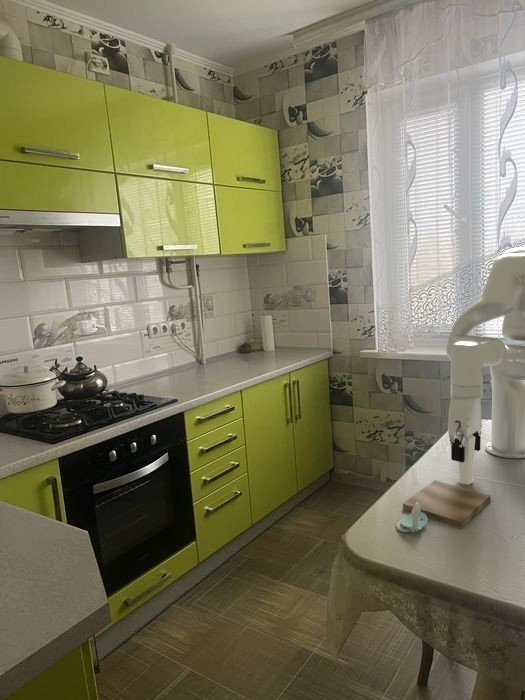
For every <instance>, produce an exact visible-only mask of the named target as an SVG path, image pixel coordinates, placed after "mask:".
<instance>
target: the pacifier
mask: <svg viewBox="0 0 525 700" xmlns="http://www.w3.org/2000/svg"><path fill="white" fill-rule="evenodd" d="M420 511H421V506H420V504H419V503H418V502H416V503H415V505H414V507H413V509H412V512H410V513H409V514H407V515H406V516H405V517H404V518H401V519H400V520H398V521H397V523H396V525H395V526H396V529H397V531H399V532H401V533H402V532H403V533H409V532H410V531H411V532H410V533H416V532H415V531H417V532H418V531H422V530H423V527H425V526H426V525H427V523H428V519H429V518H428V517H427V516H426V514H424V513H423V512H420ZM402 526H403V527H402Z"/></svg>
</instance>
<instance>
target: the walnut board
mask: <svg viewBox="0 0 525 700" xmlns="http://www.w3.org/2000/svg"><path fill="white" fill-rule="evenodd" d="M491 497H492V496H491V495H490V494H487V493H483V492H480V491H477V490H472V489H469V488H466V487H461V486H458V485H454V484H450V483H446V482H443V481H440V480H435V479H434V480H433V481H431V483H429V484H428V485H426V486H425V487H424V488H422V489H420V490H419V491H418V492H416V493H415V494H414V495H412V496H411V497H409V498H408V499H407V500H405V501H404V502H403V503H402V510H404V511H406V512H410V513H412V509H413V507H414V505H415V503H416V502H418V503H419V504H420V506H421V511H420V512H423V513H424V514H426V516H427V518H428V519H432V520H434V521H437V522H440V523H442V524H446V525H450V526H451V527H455V528H459V529H462V528H463V527H464V526H465V525H466V524H467V523H469V522H470V521H471V520H472V519H473V518H474V517H475V516H476V515H477V514H479V512H480V511H482V510H483V509H484V508H485V507H486V506H487V505H488V504H489V503H491Z"/></svg>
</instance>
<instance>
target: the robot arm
mask: <svg viewBox="0 0 525 700" xmlns="http://www.w3.org/2000/svg"><path fill="white" fill-rule="evenodd" d="M501 317H503V321H502V329H501V334H502V336H503V338H504V339H505V340H507V341H510V342H513V343H514V342H515V343H522V344H523V343H525V246H520V247H514V248H510V249H507V250H505V251H504V252H503V253H502V255H499V256H498V257H496V259H495V260H494V261H493V264H492V266H491V268H490V272H489V274H488V277H487V280H486V283H485V286H484V288H483V292H482V293H481V297H480V299H479V300H478V301H477V302H476V303H473V305H471V306H470V307H468V308H467V309H466V310H465V311H464V312H462V314H460V315H459V317H458V318H456V320H455V322H454V323H453V325H452V328H451V331H450V333H449V336H448V341H447V343H446V349H445V350H446V355H447V358H448V359H449V360H450V400H449V401H450V402H449V408H448V419H447V420H448V423H447V433H448V437H449V443H450V447H451V449H450V450H451V451H450V452H451V454H450V455H451V456H450V457H451V461H456V462H458V463H459V462H464V461H465V447H463V444H464V441H465V438H467V437H469V436H470V435H473V436H475V448H474V451H477V452H480V451H481V435H482V431H481V429H482V427H483V426H482V421H483V416H482V415H483V413H482V412H483V409H482V398H483V395H484V394H483V393H484V388H483V387H484V382H483V381H484V368H489V371H490V378H491V441H487V443H486V444H485V450H486V452H488V453H489V454H492V455H494V456H496V457H500V458H505V459H525V384H524V382H523V381H525V345H522V344H521V345H517V344H505V343H504V342H503V341H502V340H501V339H499V338H496V337H491V336H479V335H478V336H477V335H470V333H471V332H472V331H473V330H475V328H477V327H479V326H480V325H482V324H484V323H488V322H490V321H493V320H496V319H498V318H501ZM459 433H463V435H462V434H459ZM457 437H459V438H461V440H460V441H459V440H458V439H457Z"/></svg>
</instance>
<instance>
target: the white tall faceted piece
mask: <svg viewBox="0 0 525 700" xmlns="http://www.w3.org/2000/svg"><path fill="white" fill-rule="evenodd" d="M458 434H462V435H463V433H458ZM456 438H457V439H458V440H459V441H460V440H461V438H459V437H456ZM463 447H465V461H464V462H458V474H459V475H458V478H457V482H458V484H463V485H467V486H468V485H471V484H473V483H474V478H473V469H474V467H473V466H474V460H475V459H474V455H475V450H474V448H475V436H473V435H470V436H469V437H467V438H465V441H464V444H463Z"/></svg>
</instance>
